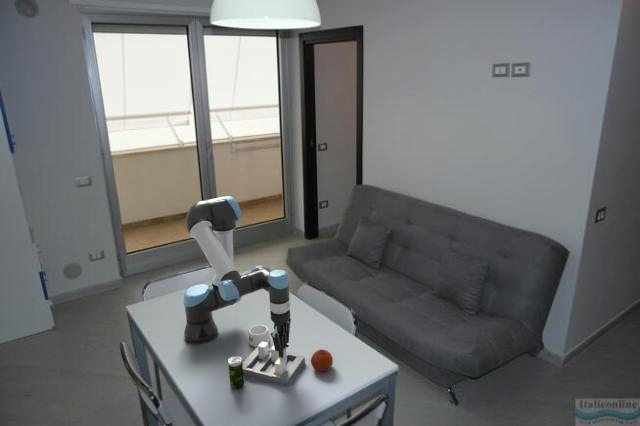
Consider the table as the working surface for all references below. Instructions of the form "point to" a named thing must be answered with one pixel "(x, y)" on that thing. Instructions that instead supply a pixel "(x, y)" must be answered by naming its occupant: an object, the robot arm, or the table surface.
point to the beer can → (236, 373)
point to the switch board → (272, 368)
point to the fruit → (322, 360)
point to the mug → (258, 335)
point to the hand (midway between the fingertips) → (283, 362)
